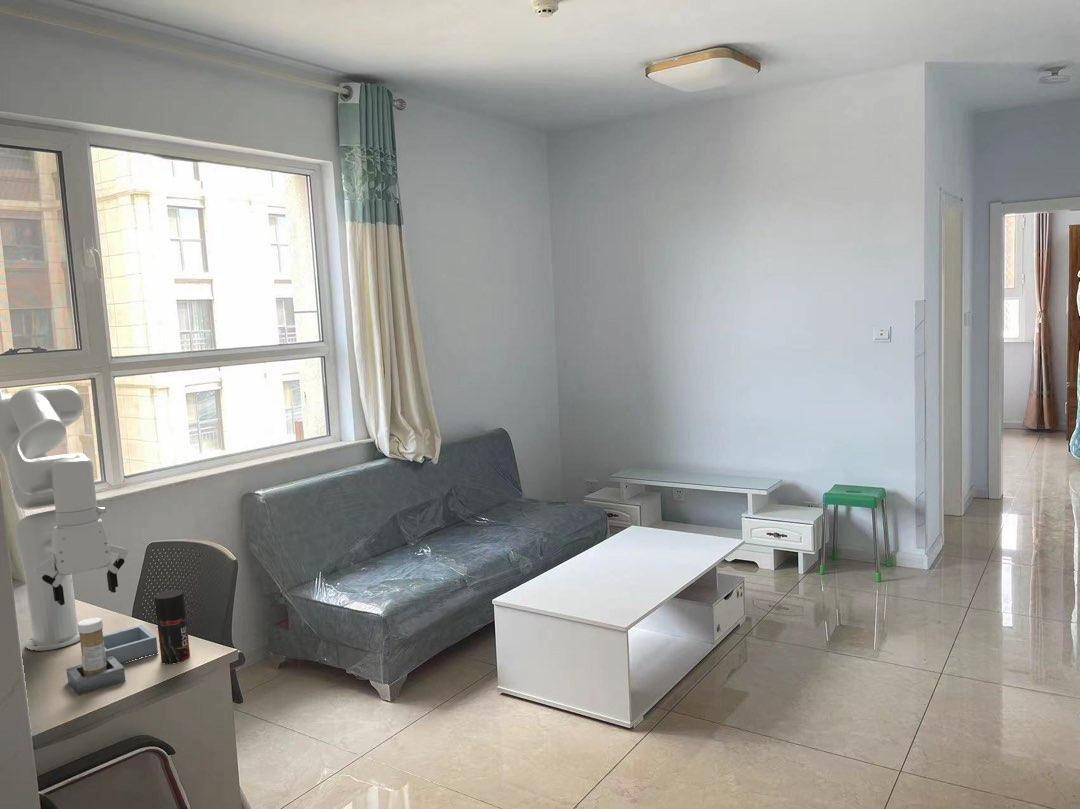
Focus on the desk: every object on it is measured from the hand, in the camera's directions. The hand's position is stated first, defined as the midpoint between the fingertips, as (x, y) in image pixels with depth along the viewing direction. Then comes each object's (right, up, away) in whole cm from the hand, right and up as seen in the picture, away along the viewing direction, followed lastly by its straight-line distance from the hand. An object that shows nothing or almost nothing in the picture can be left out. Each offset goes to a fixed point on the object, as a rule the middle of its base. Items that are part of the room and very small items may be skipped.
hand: (87, 597), depth 171 cm
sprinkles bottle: (+1, -19, +2) cm, 19 cm away
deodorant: (+13, -17, +12) cm, 25 cm away
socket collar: (+1, -18, +2) cm, 19 cm away
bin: (0, -17, +16) cm, 23 cm away
